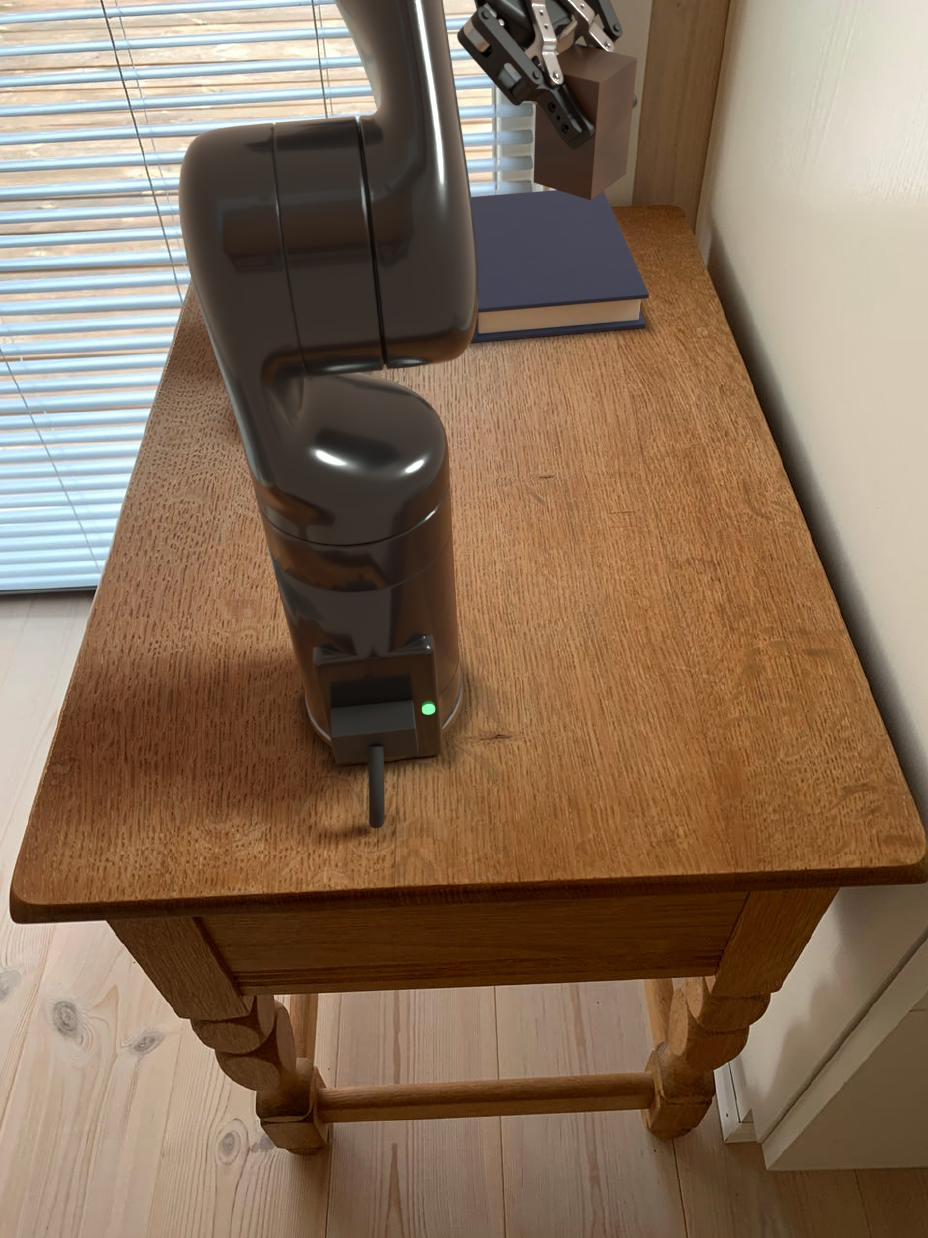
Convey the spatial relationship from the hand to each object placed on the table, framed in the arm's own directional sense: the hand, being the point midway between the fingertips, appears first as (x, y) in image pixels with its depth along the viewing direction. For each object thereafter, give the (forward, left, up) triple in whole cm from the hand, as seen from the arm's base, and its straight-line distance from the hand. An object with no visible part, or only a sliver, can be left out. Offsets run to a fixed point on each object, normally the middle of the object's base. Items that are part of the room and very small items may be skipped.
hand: (605, 125), depth 69 cm
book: (+13, +2, -18) cm, 22 cm away
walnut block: (+1, +1, -4) cm, 5 cm away
